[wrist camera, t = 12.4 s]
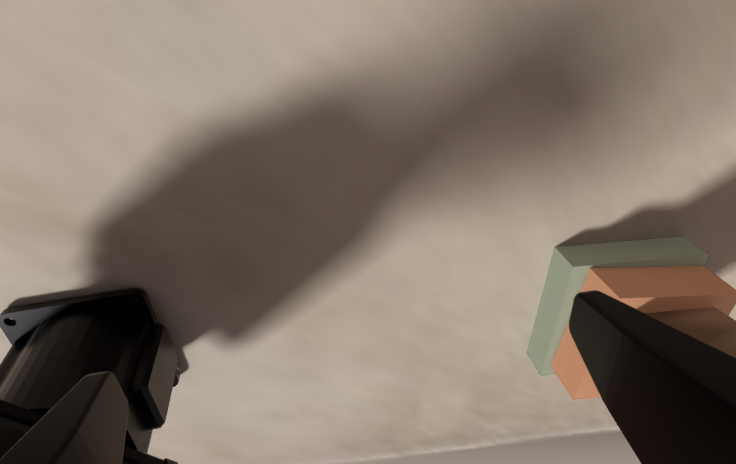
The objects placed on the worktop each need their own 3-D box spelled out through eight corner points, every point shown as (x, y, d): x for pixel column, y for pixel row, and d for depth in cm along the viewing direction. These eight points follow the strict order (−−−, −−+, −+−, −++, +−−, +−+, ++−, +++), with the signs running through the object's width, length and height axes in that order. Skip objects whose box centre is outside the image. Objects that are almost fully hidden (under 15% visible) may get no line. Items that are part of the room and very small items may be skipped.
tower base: (522, 346, 31) (540, 376, 29) (549, 241, 27) (573, 266, 25) (633, 333, 32) (659, 360, 30) (676, 230, 28) (709, 254, 26)
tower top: (550, 365, 28) (573, 399, 26) (589, 268, 25) (620, 298, 23) (652, 358, 30) (681, 390, 28) (703, 265, 26) (741, 294, 24)
